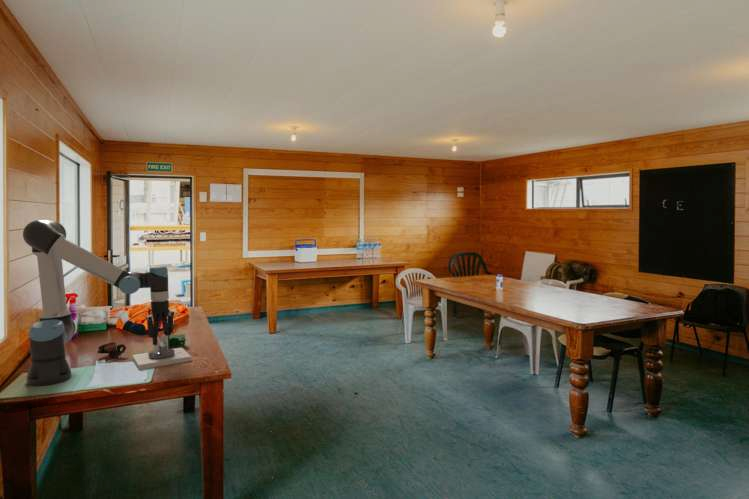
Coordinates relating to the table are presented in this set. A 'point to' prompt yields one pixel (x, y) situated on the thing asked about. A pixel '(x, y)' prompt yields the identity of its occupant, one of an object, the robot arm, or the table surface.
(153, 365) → the dial board
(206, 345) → the table surface
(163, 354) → the dial
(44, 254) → the robot arm
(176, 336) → the clamp
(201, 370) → the table surface
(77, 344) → the table surface
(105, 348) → the pottery mug
